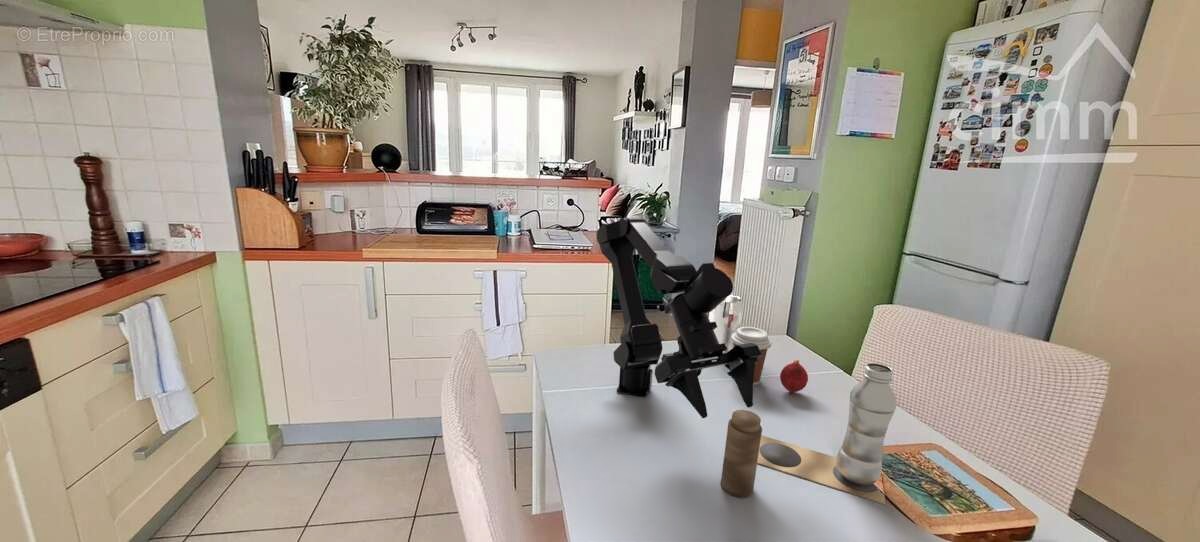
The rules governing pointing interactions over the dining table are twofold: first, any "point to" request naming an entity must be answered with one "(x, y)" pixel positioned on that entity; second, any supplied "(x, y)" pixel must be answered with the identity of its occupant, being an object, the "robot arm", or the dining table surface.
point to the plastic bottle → (867, 426)
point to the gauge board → (811, 467)
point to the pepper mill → (741, 453)
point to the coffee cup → (756, 337)
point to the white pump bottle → (727, 320)
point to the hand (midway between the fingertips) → (728, 412)
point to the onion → (794, 377)
